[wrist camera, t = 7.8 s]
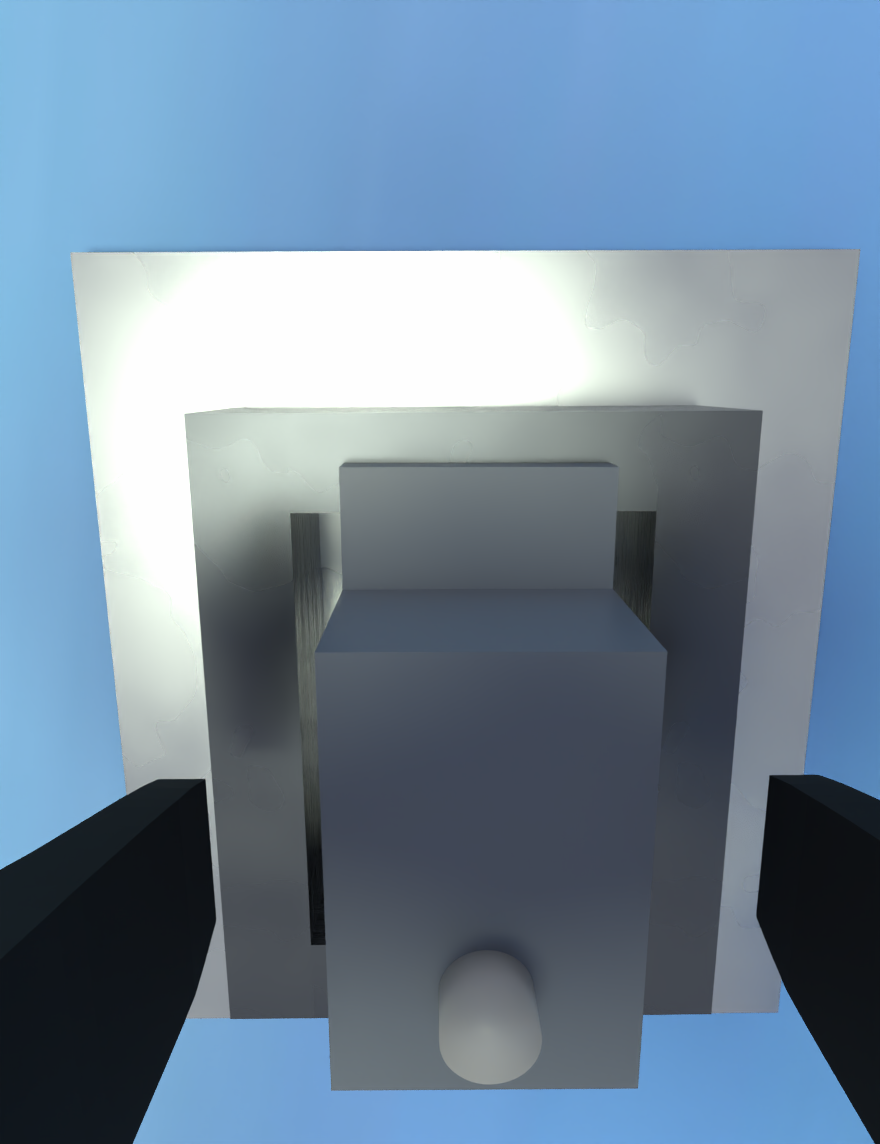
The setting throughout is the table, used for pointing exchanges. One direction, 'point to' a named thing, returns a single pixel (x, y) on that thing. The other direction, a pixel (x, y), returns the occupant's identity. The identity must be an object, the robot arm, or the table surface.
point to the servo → (485, 782)
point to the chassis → (462, 435)
